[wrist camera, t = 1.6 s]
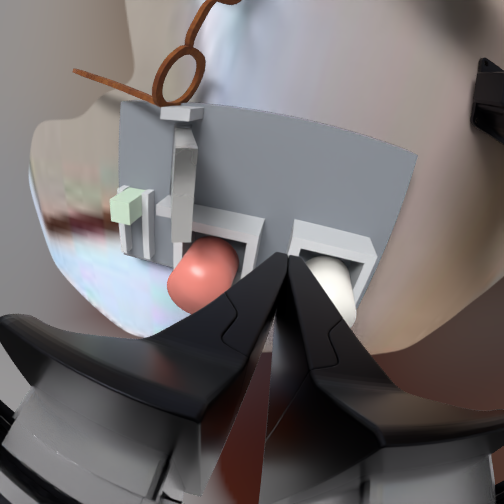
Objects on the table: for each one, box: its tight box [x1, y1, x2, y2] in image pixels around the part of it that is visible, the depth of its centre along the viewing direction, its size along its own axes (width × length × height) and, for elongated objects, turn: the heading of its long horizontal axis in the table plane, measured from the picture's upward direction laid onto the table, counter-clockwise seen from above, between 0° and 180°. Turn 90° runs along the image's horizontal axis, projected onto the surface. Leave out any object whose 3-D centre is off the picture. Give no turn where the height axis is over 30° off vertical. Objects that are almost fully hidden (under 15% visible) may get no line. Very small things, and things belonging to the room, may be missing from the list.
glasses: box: [73, 0, 241, 108], centre depth 13 cm, size 13×13×5 cm
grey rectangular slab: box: [170, 123, 198, 243], centre depth 16 cm, size 1×5×8 cm, turn 171°
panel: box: [117, 100, 418, 310], centre depth 20 cm, size 22×14×5 cm, turn 81°
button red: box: [167, 236, 239, 314], centre depth 19 cm, size 4×4×4 cm
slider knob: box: [110, 187, 146, 225], centre depth 20 cm, size 2×2×3 cm
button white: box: [305, 256, 356, 328], centre depth 18 cm, size 4×4×4 cm
